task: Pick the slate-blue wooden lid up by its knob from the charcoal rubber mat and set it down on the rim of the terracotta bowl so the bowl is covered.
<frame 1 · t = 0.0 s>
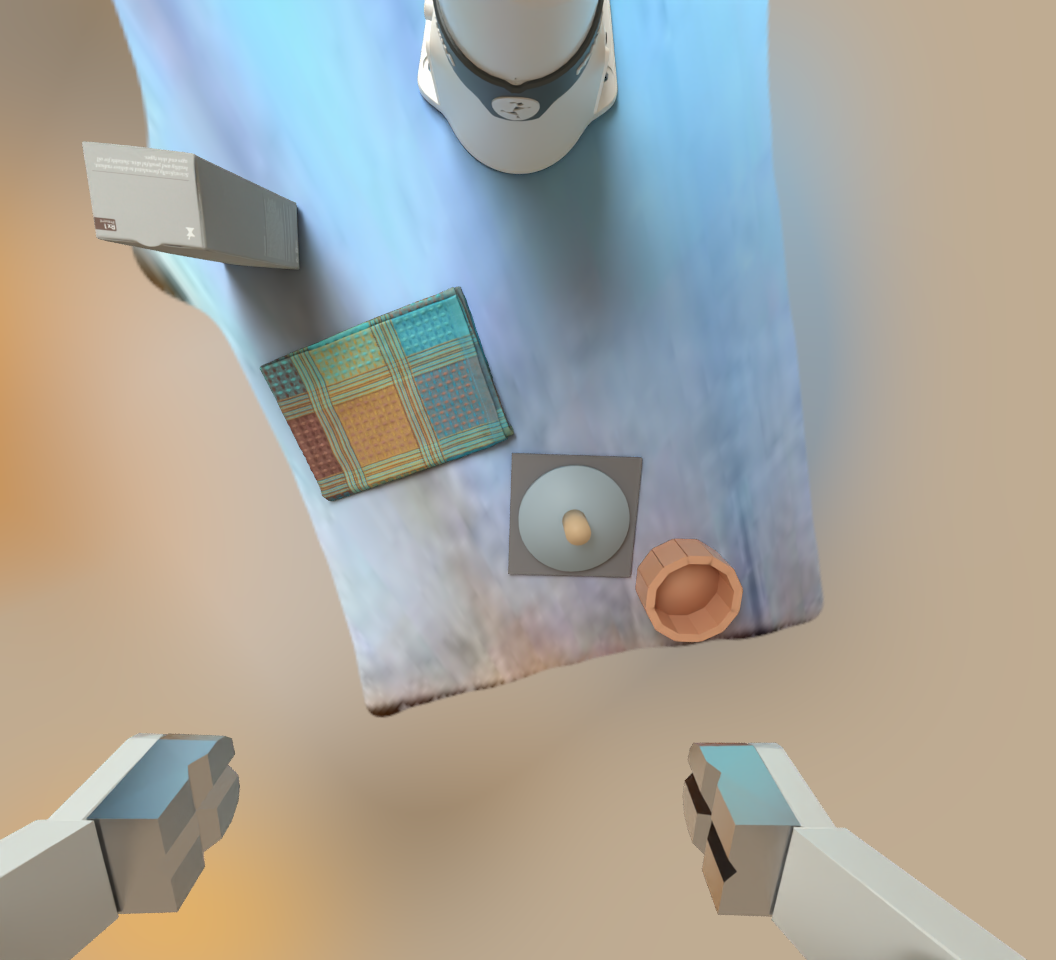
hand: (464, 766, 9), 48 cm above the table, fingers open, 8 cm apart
mat: (572, 516, 58), on the table
dish towel: (394, 399, 55), on the table
skincare box: (259, 238, 50), on the table
lid: (573, 517, 58), point 1 cm above the table, touching mat
bowl: (680, 579, 61), on the table
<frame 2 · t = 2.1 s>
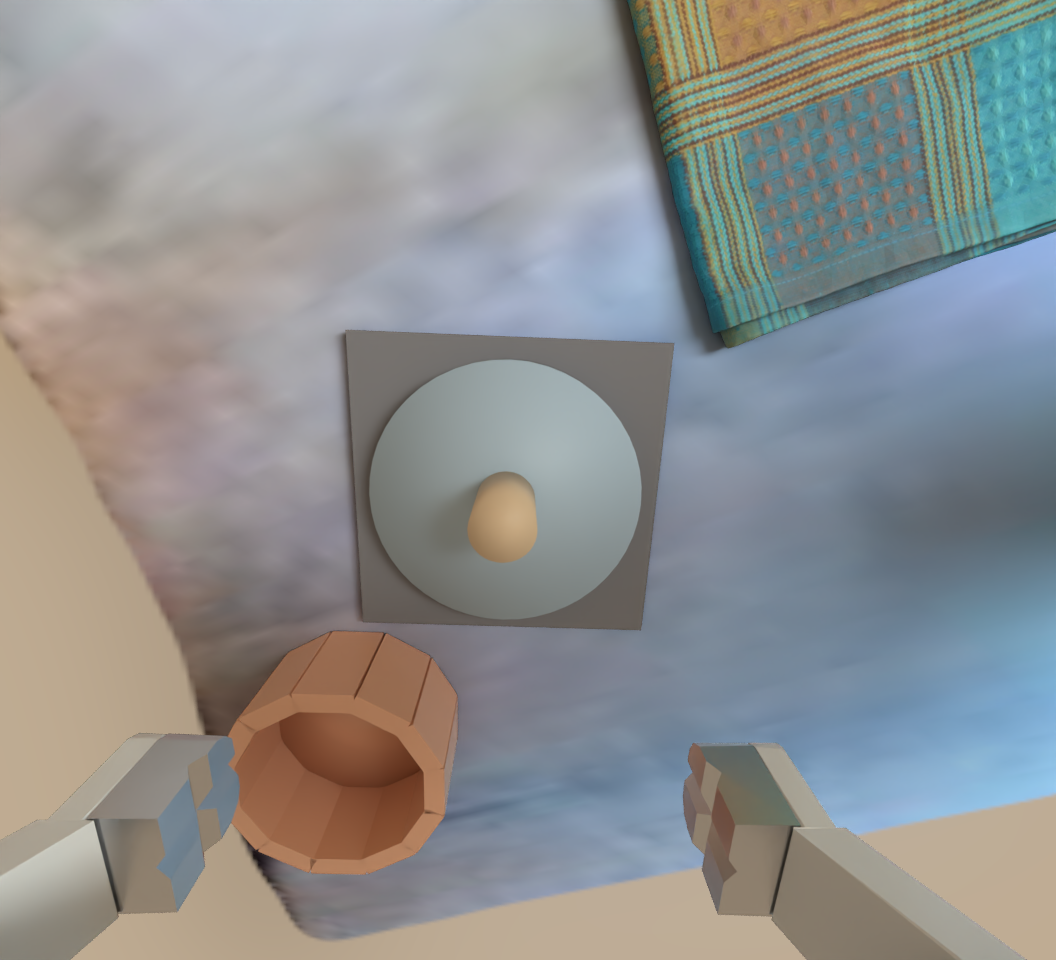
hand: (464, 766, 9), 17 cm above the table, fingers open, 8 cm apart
mat: (506, 490, 25), on the table
dish towel: (835, 10, 20), on the table
lid: (506, 493, 24), point 1 cm above the table, touching mat
bowl: (363, 714, 29), on the table
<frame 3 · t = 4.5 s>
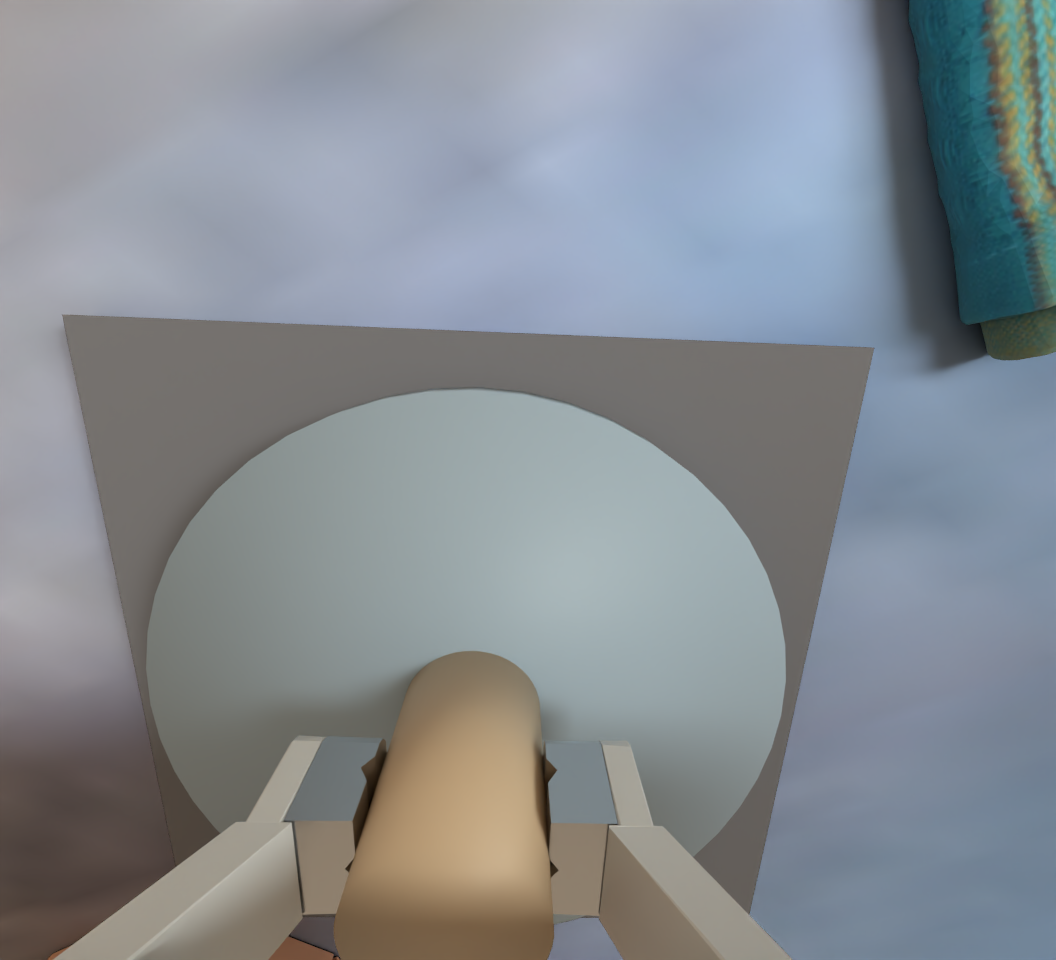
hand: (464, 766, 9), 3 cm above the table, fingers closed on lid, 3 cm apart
mat: (477, 660, 12), on the table
lid: (476, 677, 11), point 1 cm above the table, touching gripper, mat
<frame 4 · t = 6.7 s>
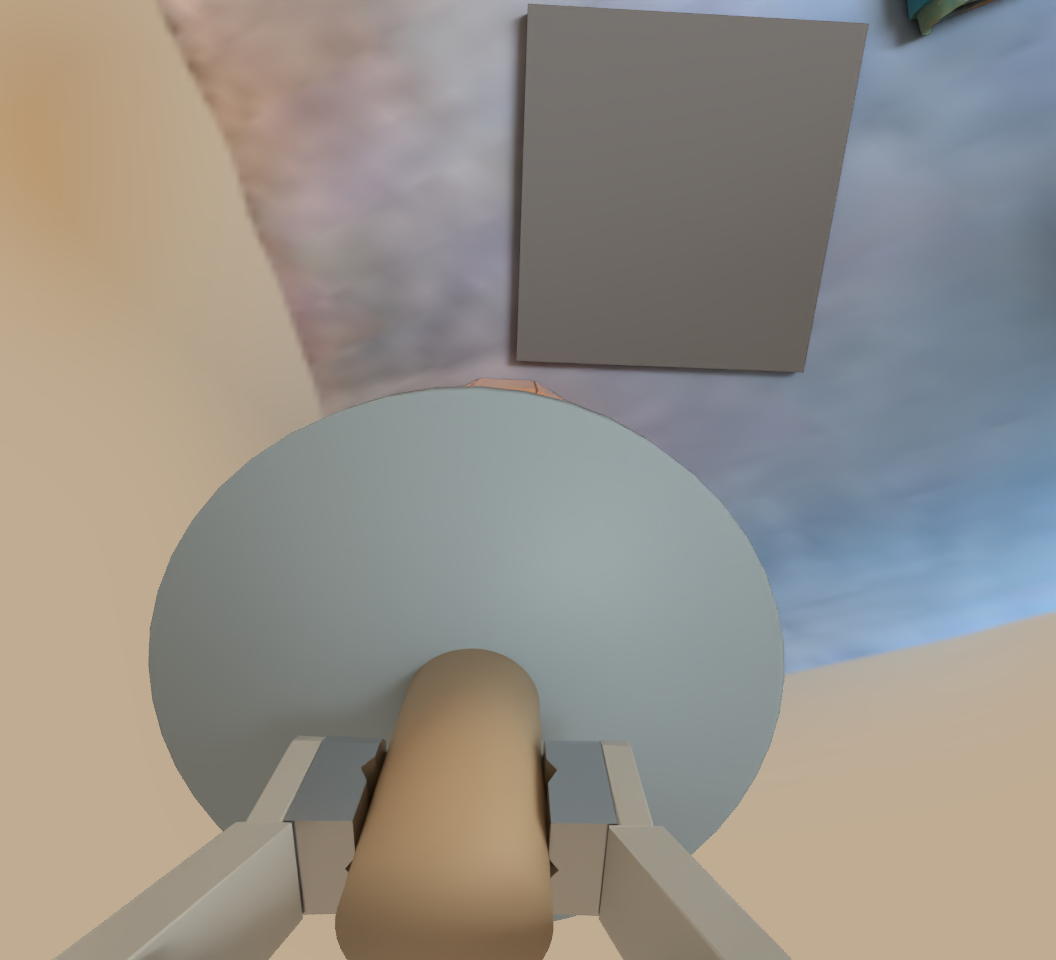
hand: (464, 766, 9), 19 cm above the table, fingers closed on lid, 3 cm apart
mat: (674, 208, 24), on the table
lid: (476, 675, 11), point 17 cm above the table, touching gripper
bowl: (503, 478, 27), on the table
when the fingers open (9 cm above the table, at t = 9.2 s): lid drops 1 cm, resting on bowl.
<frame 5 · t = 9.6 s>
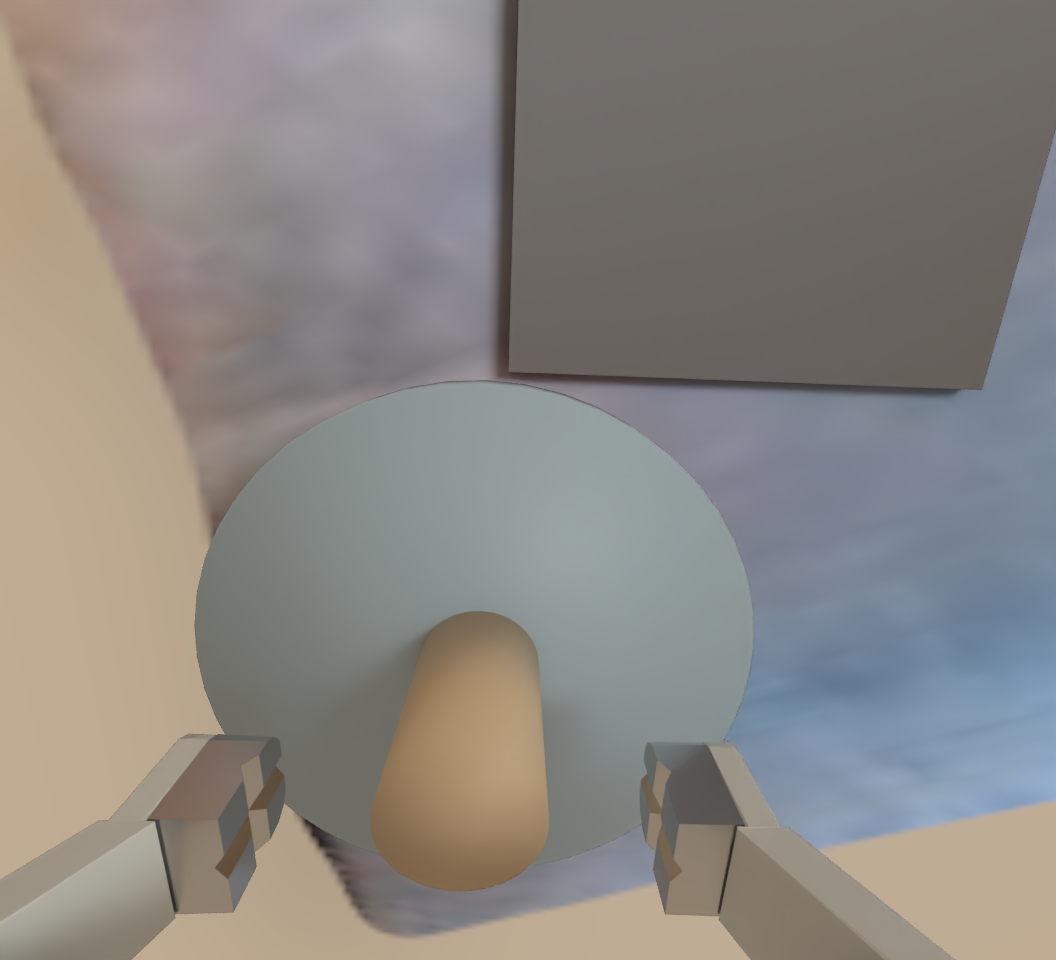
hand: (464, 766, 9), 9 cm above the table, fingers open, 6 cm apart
mat: (781, 110, 14), on the table
lid: (481, 639, 12), point 5 cm above the table, touching bowl
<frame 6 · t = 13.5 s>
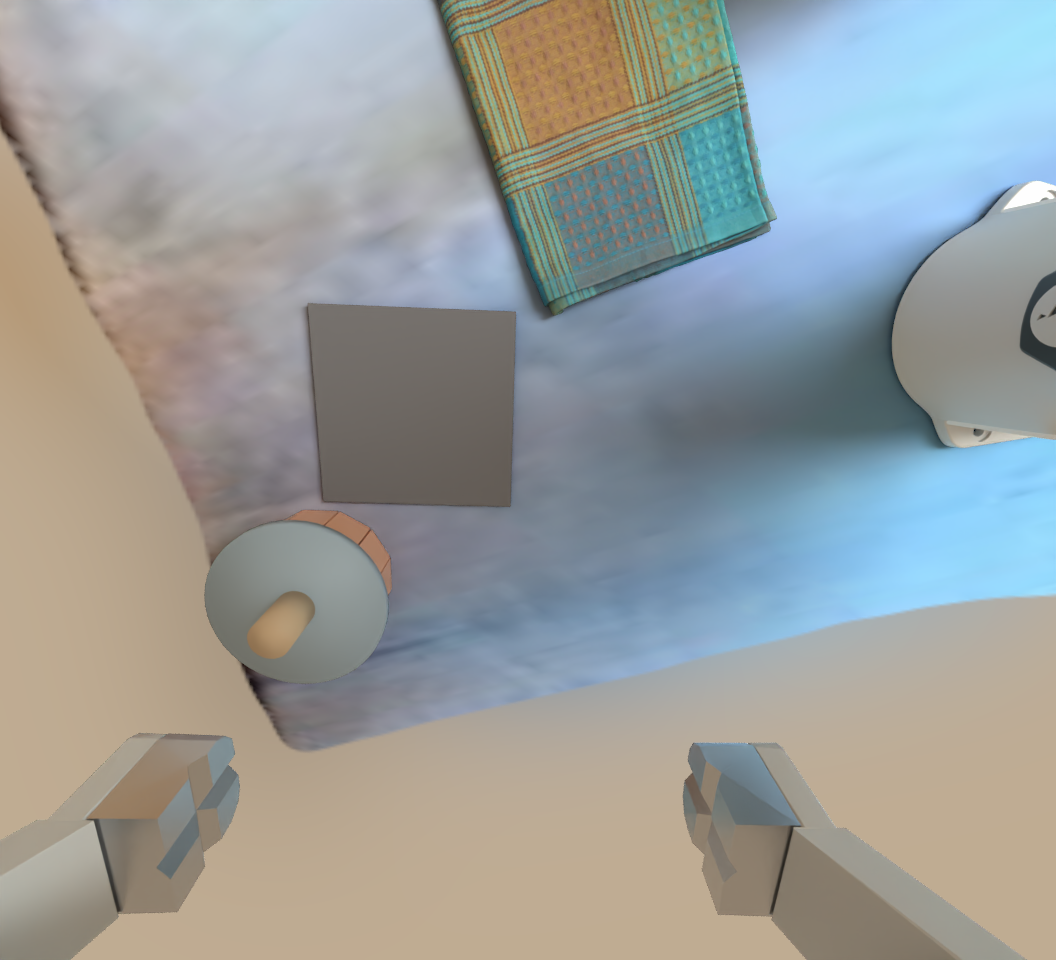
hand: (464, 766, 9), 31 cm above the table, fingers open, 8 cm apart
mat: (416, 410, 38), on the table
dish towel: (604, 108, 33), on the table
lid: (301, 601, 37), point 5 cm above the table, touching bowl
bowl: (325, 571, 41), on the table
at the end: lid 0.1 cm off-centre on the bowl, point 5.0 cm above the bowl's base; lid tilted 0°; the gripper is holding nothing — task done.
